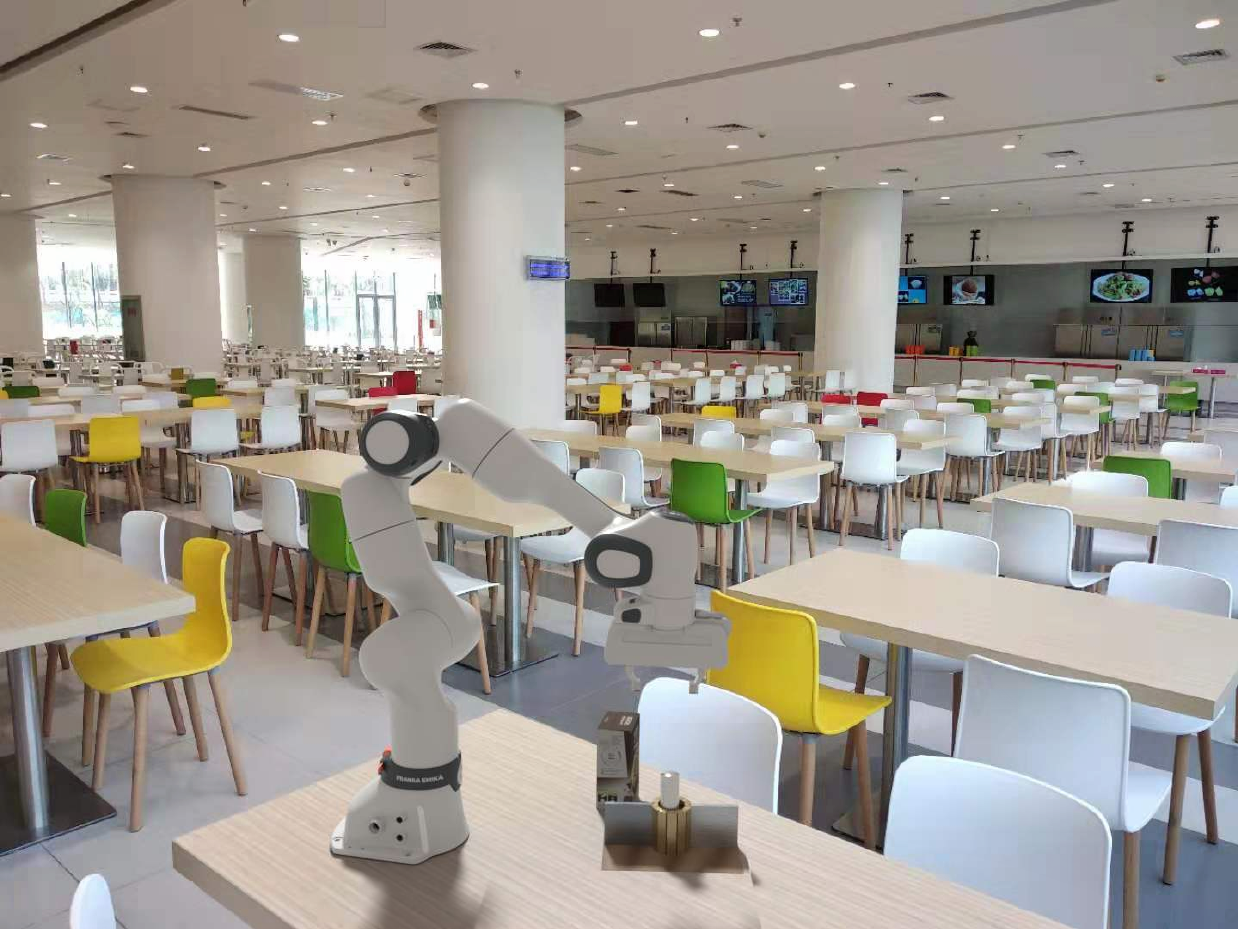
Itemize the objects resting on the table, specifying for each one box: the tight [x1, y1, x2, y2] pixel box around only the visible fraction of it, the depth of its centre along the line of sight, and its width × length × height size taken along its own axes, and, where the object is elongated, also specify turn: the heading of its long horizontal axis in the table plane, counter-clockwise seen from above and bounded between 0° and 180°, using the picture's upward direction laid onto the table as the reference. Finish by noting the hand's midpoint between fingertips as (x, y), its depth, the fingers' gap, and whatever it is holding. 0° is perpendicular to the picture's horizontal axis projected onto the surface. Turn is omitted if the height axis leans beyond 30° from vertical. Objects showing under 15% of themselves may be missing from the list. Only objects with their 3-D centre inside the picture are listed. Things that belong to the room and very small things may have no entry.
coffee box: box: [595, 710, 641, 810], centre depth 171 cm, size 9×6×16 cm
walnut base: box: [600, 830, 744, 875], centre depth 154 cm, size 22×12×2 cm, turn 89°
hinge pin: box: [660, 770, 680, 811], centre depth 155 cm, size 3×3×12 cm
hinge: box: [603, 795, 739, 855], centre depth 155 cm, size 22×6×7 cm, turn 89°
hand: (664, 691), depth 156 cm, fingers open, 8 cm apart
